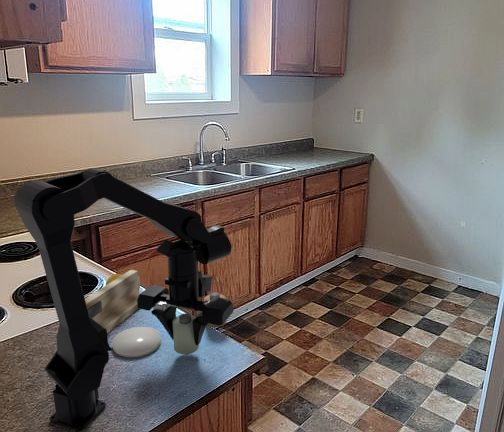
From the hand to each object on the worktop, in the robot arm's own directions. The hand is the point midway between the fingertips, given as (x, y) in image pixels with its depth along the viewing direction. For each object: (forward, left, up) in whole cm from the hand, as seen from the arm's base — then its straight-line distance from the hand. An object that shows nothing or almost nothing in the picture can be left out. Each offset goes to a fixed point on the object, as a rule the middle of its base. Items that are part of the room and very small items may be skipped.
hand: (186, 341), depth 88 cm
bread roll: (+22, +31, -4) cm, 38 cm away
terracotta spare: (+14, 0, -3) cm, 14 cm away
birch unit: (+6, +23, -3) cm, 24 cm away
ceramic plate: (0, +12, -3) cm, 12 cm away
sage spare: (0, 0, -1) cm, 1 cm away
